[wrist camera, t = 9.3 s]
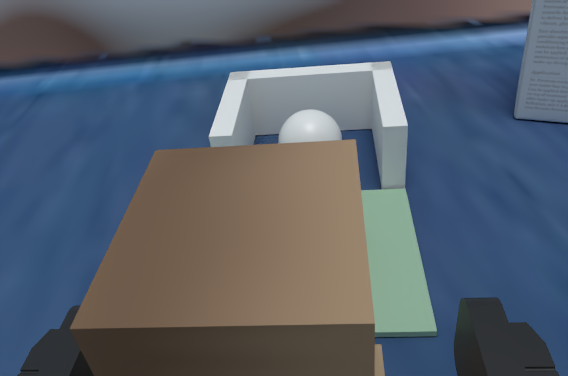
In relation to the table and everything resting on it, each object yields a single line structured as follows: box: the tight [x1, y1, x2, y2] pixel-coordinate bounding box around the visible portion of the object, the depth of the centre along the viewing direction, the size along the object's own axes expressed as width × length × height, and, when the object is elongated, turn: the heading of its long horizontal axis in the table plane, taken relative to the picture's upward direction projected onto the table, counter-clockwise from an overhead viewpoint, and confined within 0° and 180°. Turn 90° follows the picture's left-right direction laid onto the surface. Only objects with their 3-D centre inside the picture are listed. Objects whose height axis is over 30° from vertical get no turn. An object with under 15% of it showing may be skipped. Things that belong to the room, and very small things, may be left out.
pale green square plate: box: [361, 189, 437, 337], centre depth 24 cm, size 10×9×1 cm
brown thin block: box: [70, 139, 375, 376], centre depth 16 cm, size 4×15×12 cm, turn 177°
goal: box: [209, 61, 408, 190], centre depth 30 cm, size 10×8×4 cm
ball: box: [279, 109, 342, 143], centre depth 29 cm, size 4×4×4 cm
